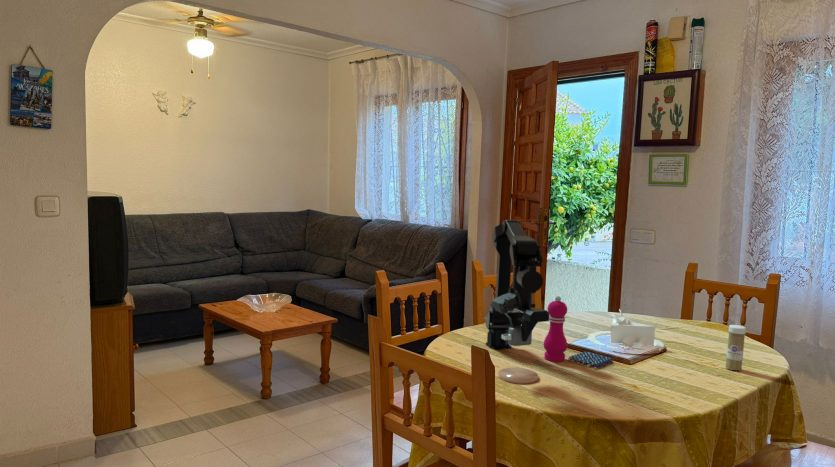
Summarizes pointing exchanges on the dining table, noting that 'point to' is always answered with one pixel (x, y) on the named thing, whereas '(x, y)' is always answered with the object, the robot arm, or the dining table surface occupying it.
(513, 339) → the charcoal plug
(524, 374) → the terracotta coaster
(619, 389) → the dining table surface
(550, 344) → the pepper mill
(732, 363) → the sprinkles bottle
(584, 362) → the woven mat
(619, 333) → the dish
